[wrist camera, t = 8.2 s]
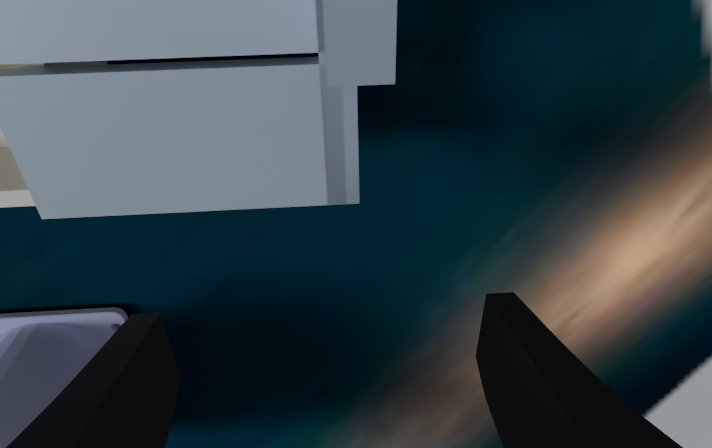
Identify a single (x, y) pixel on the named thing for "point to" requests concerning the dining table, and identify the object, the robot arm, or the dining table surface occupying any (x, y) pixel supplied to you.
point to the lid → (189, 102)
